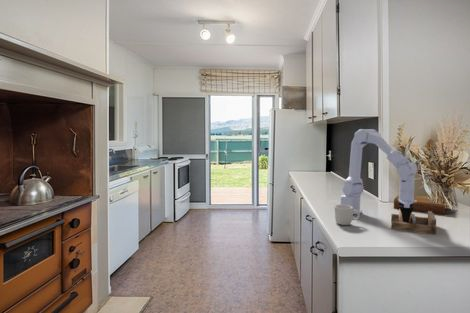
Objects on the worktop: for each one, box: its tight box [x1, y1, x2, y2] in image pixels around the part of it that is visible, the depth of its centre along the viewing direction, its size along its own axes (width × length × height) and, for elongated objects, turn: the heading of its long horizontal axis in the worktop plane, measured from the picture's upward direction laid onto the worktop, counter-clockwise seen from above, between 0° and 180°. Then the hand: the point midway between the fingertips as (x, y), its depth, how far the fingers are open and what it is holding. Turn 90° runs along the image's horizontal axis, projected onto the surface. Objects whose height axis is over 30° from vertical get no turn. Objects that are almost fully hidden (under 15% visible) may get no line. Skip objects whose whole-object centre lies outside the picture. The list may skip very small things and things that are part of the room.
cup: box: [334, 204, 361, 226], centre depth 136 cm, size 11×8×8 cm
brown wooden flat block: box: [393, 194, 446, 216], centre depth 164 cm, size 23×19×6 cm
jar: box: [398, 209, 413, 223], centre depth 133 cm, size 5×5×8 cm
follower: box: [412, 213, 416, 224], centre depth 131 cm, size 1×11×4 cm, turn 153°
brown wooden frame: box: [390, 211, 437, 235], centre depth 132 cm, size 16×15×6 cm
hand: (405, 220), depth 133 cm, fingers open, 5 cm apart
